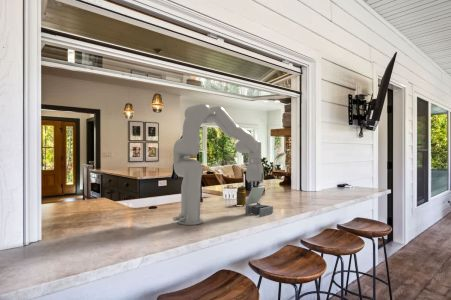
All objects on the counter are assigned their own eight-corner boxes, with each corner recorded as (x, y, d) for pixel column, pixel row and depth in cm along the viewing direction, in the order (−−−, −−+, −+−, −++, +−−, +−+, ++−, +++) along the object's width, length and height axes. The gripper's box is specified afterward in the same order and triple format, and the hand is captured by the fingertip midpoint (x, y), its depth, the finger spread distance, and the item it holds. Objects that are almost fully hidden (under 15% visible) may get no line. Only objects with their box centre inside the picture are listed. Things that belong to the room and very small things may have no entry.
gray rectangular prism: (256, 215, 166) (256, 207, 166) (252, 214, 168) (252, 206, 169) (266, 213, 171) (266, 205, 171) (262, 212, 173) (262, 204, 174)
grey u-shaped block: (261, 216, 162) (261, 207, 162) (245, 213, 169) (245, 205, 169) (272, 213, 171) (273, 204, 171) (257, 210, 178) (257, 202, 178)
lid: (253, 188, 165) (252, 187, 166) (246, 205, 169) (244, 204, 169) (265, 186, 174) (264, 186, 175) (258, 202, 178) (256, 201, 178)
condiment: (248, 205, 196) (248, 187, 196) (239, 207, 190) (239, 188, 190) (240, 204, 201) (240, 186, 201) (231, 205, 195) (231, 187, 196)
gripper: (241, 161, 175) (241, 192, 175) (262, 162, 165) (262, 194, 165) (248, 161, 181) (248, 190, 181) (269, 161, 171) (269, 192, 171)
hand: (255, 192), depth 173 cm, fingers closed
